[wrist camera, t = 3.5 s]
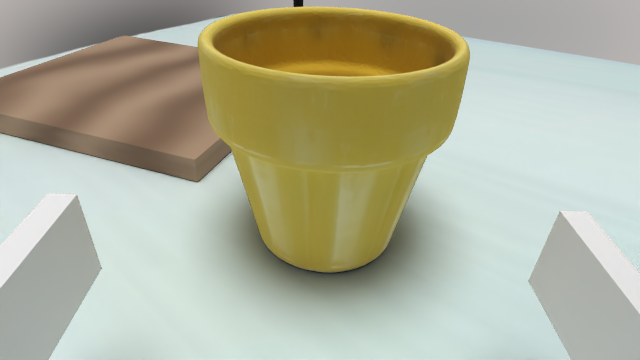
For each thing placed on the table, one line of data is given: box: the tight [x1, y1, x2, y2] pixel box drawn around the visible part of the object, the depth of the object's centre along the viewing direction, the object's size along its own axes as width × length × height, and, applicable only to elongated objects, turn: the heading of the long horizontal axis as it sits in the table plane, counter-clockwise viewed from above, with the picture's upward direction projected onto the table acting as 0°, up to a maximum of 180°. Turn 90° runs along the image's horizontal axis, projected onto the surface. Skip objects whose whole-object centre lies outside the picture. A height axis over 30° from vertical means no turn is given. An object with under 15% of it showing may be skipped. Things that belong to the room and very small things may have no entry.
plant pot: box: [198, 7, 470, 272], centre depth 19 cm, size 10×10×10 cm
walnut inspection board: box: [0, 36, 232, 182], centre depth 34 cm, size 20×18×2 cm
